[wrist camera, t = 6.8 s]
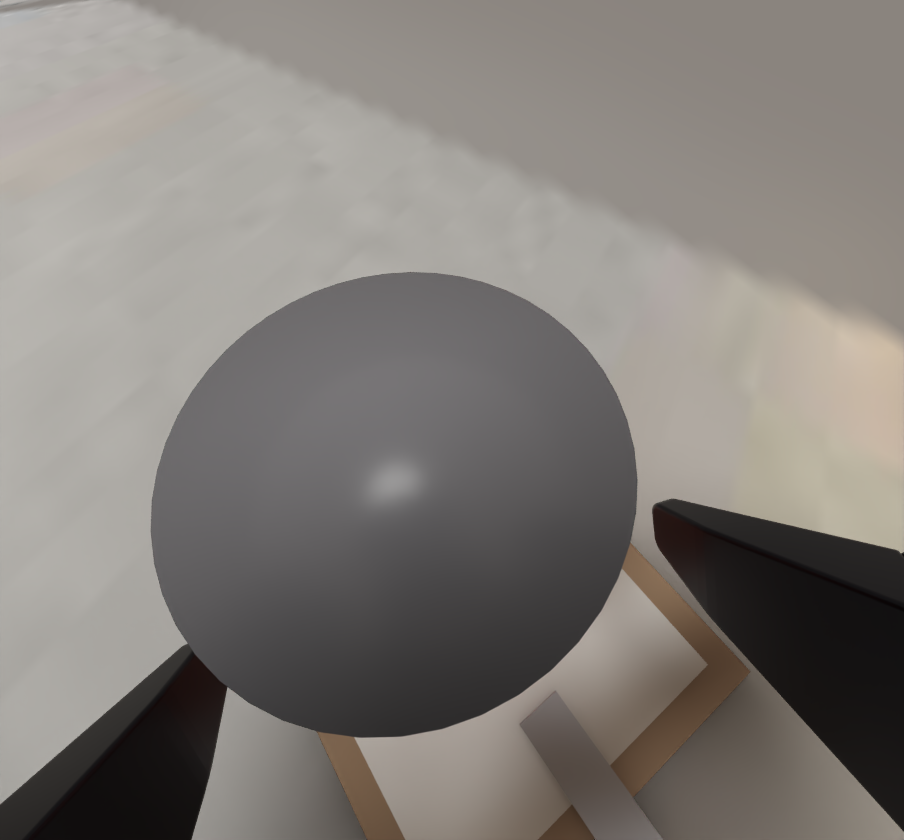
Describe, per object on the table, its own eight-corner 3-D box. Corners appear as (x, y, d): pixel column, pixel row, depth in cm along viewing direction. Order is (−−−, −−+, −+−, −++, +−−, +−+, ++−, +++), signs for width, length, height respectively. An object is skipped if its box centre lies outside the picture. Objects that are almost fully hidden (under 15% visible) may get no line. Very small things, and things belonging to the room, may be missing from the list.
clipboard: (782, 712, 14) (797, 716, 13) (476, 1059, 11) (476, 1085, 10) (466, 370, 21) (465, 362, 20) (226, 529, 18) (217, 525, 17)
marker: (524, 624, 15) (749, 594, 3) (426, 666, 15) (161, 859, 2) (484, 526, 17) (511, 230, 4) (395, 561, 16) (144, 343, 4)
